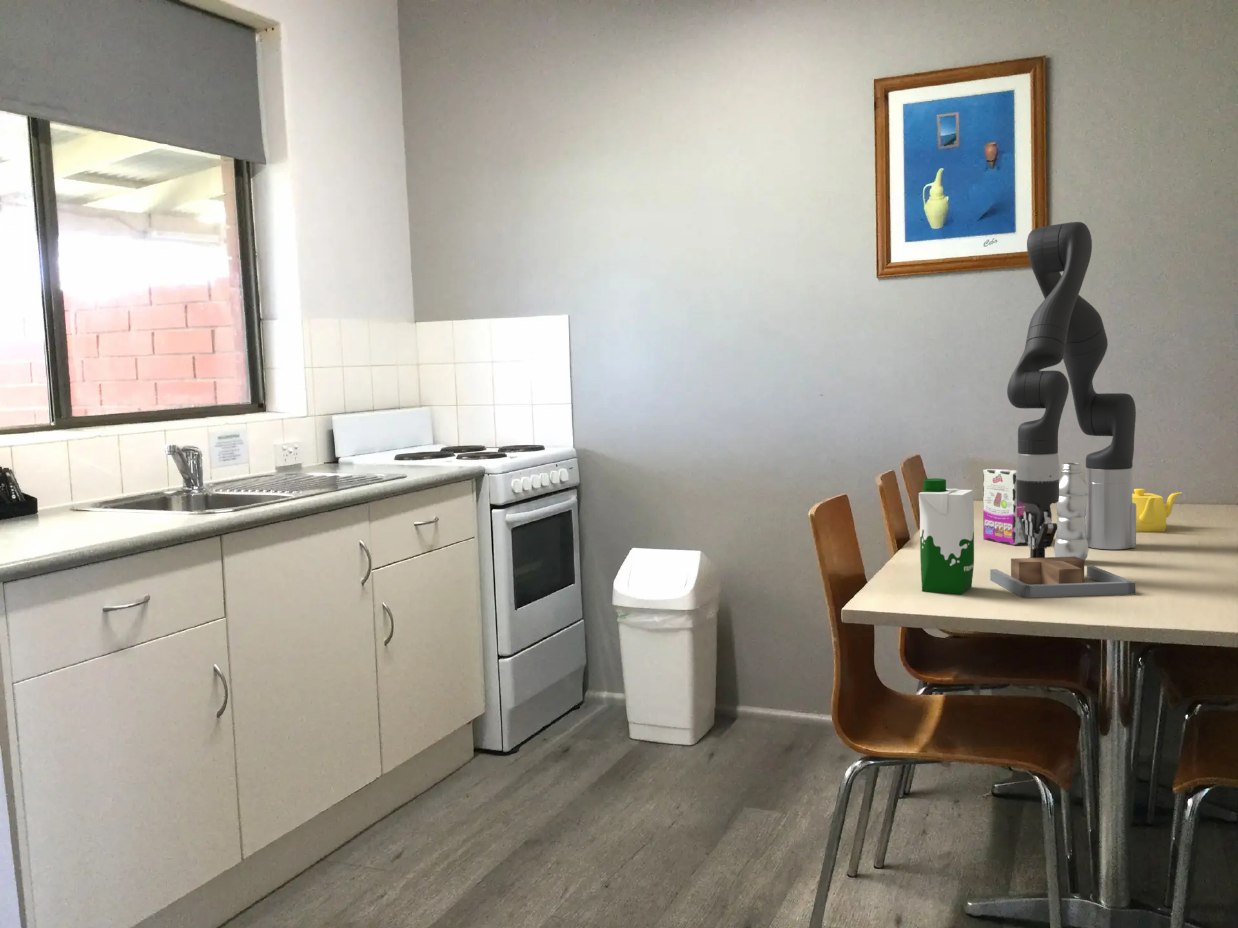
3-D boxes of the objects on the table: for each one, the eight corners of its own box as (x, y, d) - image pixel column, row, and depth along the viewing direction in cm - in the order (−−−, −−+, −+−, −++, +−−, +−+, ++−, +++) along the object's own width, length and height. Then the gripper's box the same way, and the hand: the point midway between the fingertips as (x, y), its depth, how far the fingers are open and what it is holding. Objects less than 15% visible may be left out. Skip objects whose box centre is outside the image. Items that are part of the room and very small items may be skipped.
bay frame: (1093, 576, 200) (1093, 565, 200) (1135, 594, 184) (1135, 582, 184) (990, 579, 200) (990, 569, 200) (1023, 597, 184) (1023, 586, 183)
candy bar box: (1032, 544, 237) (1032, 471, 236) (1014, 546, 236) (1014, 472, 234) (1000, 537, 248) (1000, 467, 246) (982, 539, 246) (981, 468, 245)
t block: (1074, 577, 200) (1074, 556, 199) (1104, 590, 188) (1104, 567, 187) (1010, 579, 200) (1010, 558, 199) (1036, 592, 188) (1036, 570, 187)
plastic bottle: (1087, 559, 217) (1087, 462, 215) (1090, 565, 211) (1090, 465, 209) (1053, 558, 219) (1053, 462, 217) (1054, 564, 213) (1055, 465, 211)
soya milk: (929, 582, 199) (928, 476, 197) (978, 586, 194) (978, 477, 192) (915, 591, 192) (914, 481, 190) (966, 596, 187) (965, 483, 185)
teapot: (1153, 535, 244) (1154, 493, 243) (1095, 529, 255) (1095, 489, 254) (1184, 528, 252) (1184, 488, 252) (1126, 523, 264) (1126, 484, 263)
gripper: (1072, 480, 193) (1072, 574, 195) (1043, 472, 206) (1043, 560, 208) (1031, 481, 193) (1031, 575, 195) (1005, 474, 206) (1005, 562, 208)
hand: (1037, 567), depth 201 cm, fingers closed
